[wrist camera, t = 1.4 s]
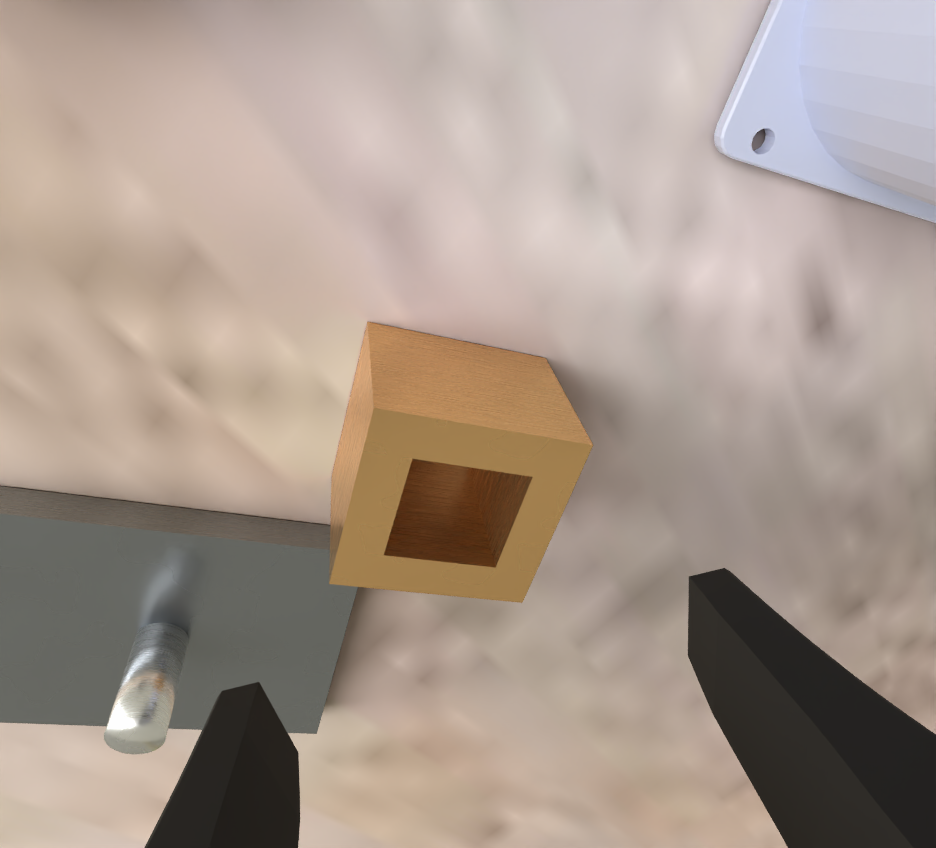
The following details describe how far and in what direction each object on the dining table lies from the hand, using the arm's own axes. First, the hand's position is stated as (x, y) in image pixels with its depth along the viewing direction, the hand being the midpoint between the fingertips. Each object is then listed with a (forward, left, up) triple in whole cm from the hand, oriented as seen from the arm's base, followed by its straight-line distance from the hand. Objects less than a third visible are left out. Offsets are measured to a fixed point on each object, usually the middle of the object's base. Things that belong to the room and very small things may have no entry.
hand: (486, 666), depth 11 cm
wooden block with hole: (0, 0, -8) cm, 8 cm away
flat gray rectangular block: (+6, +8, -8) cm, 13 cm away
